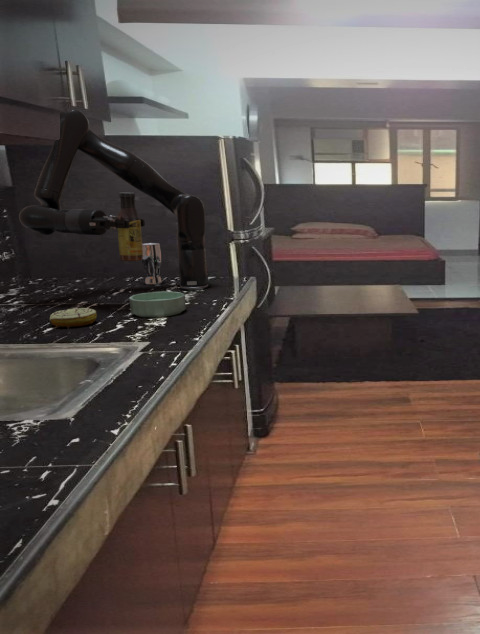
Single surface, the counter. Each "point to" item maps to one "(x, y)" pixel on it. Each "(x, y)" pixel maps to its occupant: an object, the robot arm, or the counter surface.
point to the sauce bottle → (129, 230)
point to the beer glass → (152, 263)
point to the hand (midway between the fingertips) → (136, 223)
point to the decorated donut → (73, 317)
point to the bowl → (157, 304)
